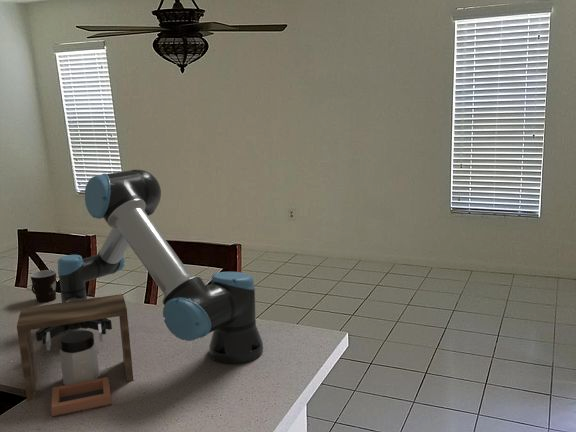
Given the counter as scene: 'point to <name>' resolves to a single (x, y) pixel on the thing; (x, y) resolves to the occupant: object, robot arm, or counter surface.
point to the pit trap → (80, 396)
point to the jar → (78, 357)
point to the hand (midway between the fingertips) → (74, 341)
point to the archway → (68, 315)
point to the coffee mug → (44, 285)
